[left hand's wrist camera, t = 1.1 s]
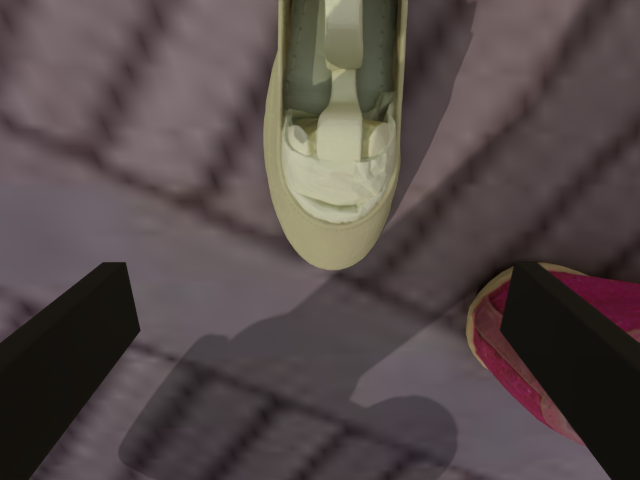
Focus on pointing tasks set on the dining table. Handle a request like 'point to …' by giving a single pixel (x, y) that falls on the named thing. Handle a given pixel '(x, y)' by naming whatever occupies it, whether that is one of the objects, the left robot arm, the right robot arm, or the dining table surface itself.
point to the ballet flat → (335, 124)
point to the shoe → (500, 358)
